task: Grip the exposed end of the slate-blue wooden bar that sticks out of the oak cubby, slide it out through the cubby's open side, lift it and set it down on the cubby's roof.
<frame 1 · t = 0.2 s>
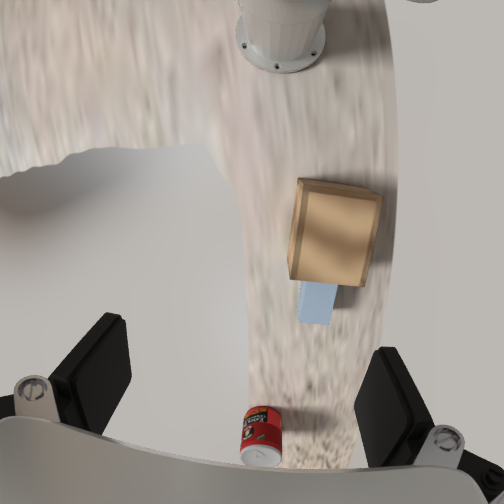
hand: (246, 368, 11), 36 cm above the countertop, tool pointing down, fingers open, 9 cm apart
canned food: (262, 416, 59), on the countertop
bar: (317, 273, 49), on the countertop
cubby: (326, 223, 46), on the countertop
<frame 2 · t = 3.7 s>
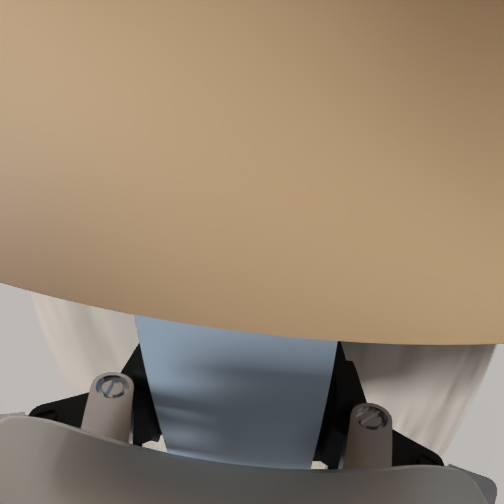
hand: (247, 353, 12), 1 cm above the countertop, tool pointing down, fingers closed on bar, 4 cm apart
bar: (249, 260, 11), on the countertop, touching gripper
cubby: (285, 34, 9), on the countertop
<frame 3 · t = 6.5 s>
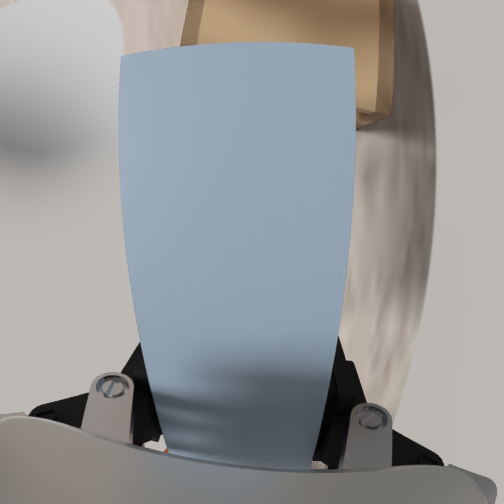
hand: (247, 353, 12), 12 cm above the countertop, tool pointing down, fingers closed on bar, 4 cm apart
bar: (249, 260, 12), point 11 cm above the countertop, touching gripper
cubby: (287, 42, 19), on the countertop
when the fingers open (10 cm above the countertop, at t = 9.5 s): bar moves 1 cm, resting on cubby.
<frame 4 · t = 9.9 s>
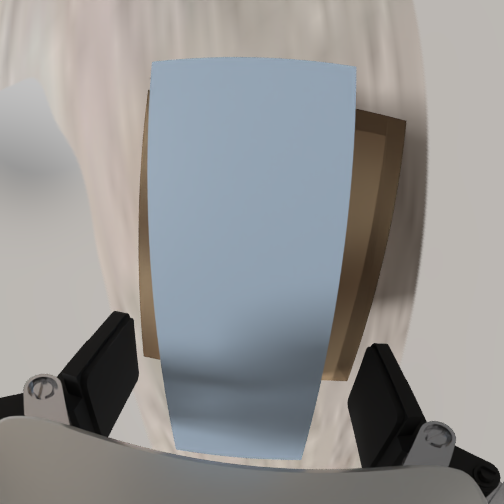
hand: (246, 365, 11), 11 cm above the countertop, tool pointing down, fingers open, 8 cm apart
bar: (253, 252, 12), point 8 cm above the countertop, touching cubby
cubby: (264, 213, 20), on the countertop
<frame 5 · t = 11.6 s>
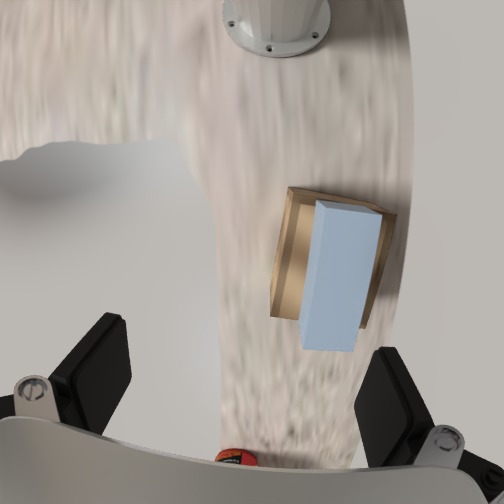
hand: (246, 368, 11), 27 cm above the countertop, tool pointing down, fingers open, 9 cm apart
canned food: (237, 459, 49), on the countertop
bar: (331, 266, 29), point 8 cm above the countertop, touching cubby
cubby: (321, 245, 37), on the countertop
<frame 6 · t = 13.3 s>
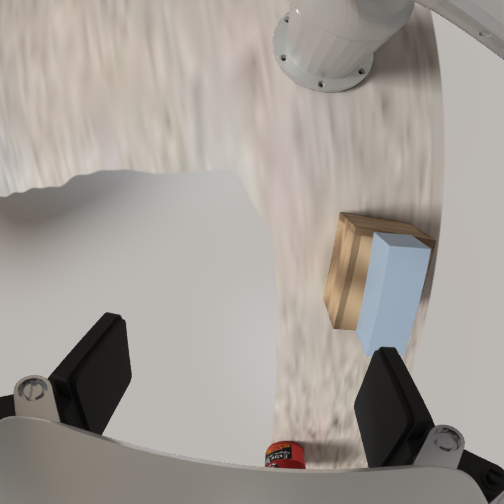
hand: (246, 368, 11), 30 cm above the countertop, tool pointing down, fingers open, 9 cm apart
canned food: (285, 450, 54), on the countertop
bar: (383, 285, 33), point 8 cm above the countertop, touching cubby
cubby: (367, 261, 41), on the countertop
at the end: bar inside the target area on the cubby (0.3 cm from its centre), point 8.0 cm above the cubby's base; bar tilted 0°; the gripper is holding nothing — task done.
